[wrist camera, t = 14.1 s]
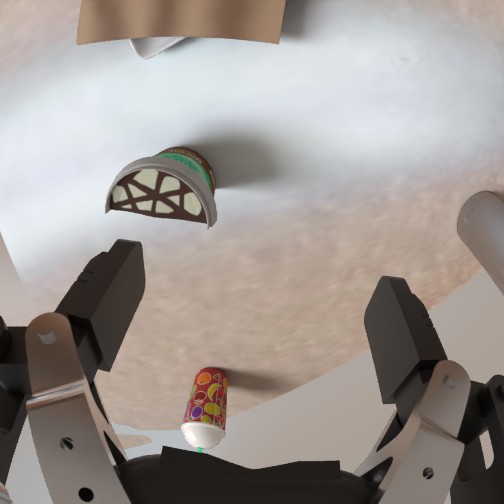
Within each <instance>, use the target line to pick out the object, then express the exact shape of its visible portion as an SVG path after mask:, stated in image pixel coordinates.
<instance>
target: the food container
mask: <svg viewBox="0 0 504 504" xmlns="http://www.w3.org/2000/svg"><path fill="white" fill-rule="evenodd" d="M214 193H215V178H214V174H213V171H212V168H211V167H210V165H209V164H208V162H207V161H206V159H204V158H203V157H202V156H201V155H200V154H198V153H197V152H195V151H193V150H191V149H188V148H183V147H174V148H169V149H166V150H164V151H162V152H160V153H158V154H157V155H155V156H153V157H146V158H142V159H139V160H136V161H134V162H132V163H130V164H128V165H127V166H126V167H125V168H123V169H122V170H121V172H120V173H119V174H118V175H117V176H116V178H115V180H114V182H113V183H112V185H111V187H110V189H109V192H108V194H107V199H106V205H105V214H106V213H107V212H109V211H110V210H111V209H112V210H120V211H128V212H134V213H138V214H143V215H147V216H151V217H157V218H169V219H180V220H187V221H194V222H200V223H206V224H207V230H208V229H209V227H212V226H213V225H214V224H215V222H216V221H217V210H216V204H215V201H214Z"/></svg>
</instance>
